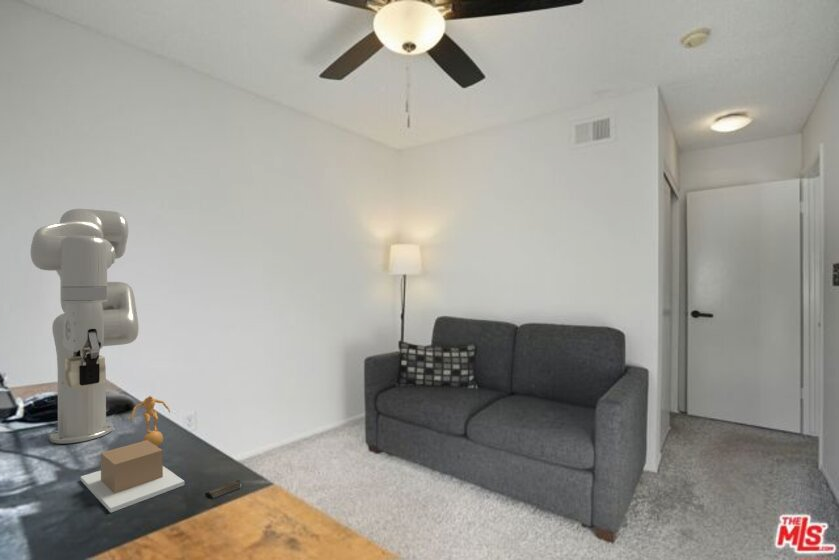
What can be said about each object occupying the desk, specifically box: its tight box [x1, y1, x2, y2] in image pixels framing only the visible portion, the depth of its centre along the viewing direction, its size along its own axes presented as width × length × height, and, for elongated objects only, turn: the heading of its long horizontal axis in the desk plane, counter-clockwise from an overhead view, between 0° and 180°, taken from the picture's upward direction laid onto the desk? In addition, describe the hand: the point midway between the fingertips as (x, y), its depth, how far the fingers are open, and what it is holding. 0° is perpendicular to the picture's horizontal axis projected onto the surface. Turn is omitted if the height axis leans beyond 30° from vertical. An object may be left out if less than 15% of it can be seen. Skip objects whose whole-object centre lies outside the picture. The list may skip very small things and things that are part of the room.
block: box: [205, 479, 242, 500], centre depth 79 cm, size 4×6×2 cm, turn 142°
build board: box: [80, 440, 185, 514], centre depth 82 cm, size 18×12×6 cm, turn 52°
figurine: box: [129, 395, 171, 447], centre depth 99 cm, size 8×6×12 cm
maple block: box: [65, 354, 106, 388], centre depth 87 cm, size 5×5×5 cm
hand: (85, 380), depth 87 cm, fingers closed on maple block, 5 cm apart
